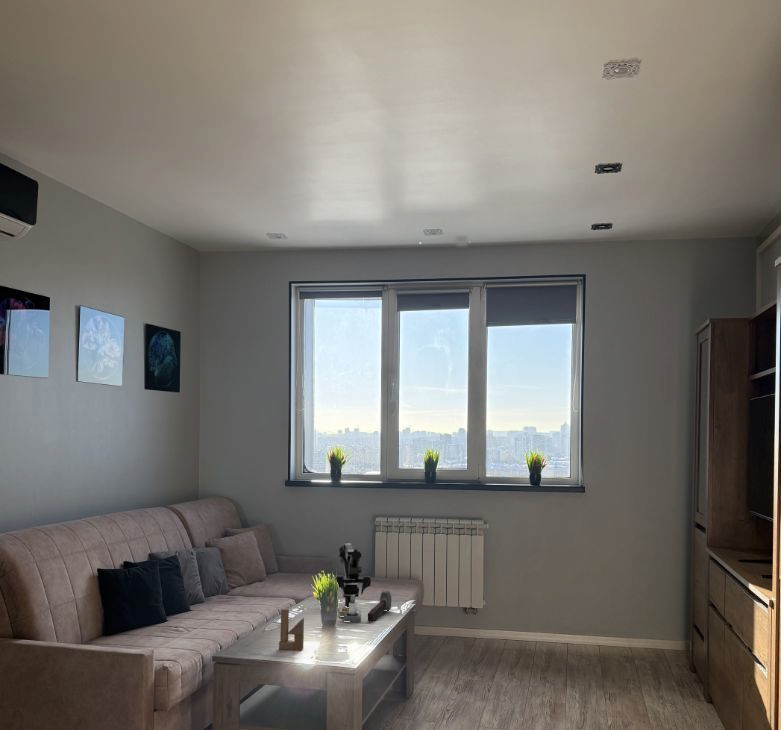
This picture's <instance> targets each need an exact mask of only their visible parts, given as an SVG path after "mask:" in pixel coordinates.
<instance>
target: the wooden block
mask: <svg viewBox="0 0 781 730" xmlns="http://www.w3.org/2000/svg"><path fill="white" fill-rule="evenodd" d="M289 619H290V610H289V608H285V607H284V608H281V609H280V638H279V641H278V650H284V651H294V652H298V651H299V652H301V651H303V650H304V641H305V639H304V636H305V618H304V617H303V618H302V619H300V620H299V621H298V622H297V624H295V625H294V627H292V628H291V629H290V630H289V623H290V622H289V621H290V620H289ZM289 635H294V638H293V640H290V639H289Z"/></svg>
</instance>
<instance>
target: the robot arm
mask: <svg viewBox="0 0 781 730" xmlns="http://www.w3.org/2000/svg"><path fill="white" fill-rule="evenodd" d="M337 552H338V553H337V554H338V555H337V557H338V558H339V562H340V563H342V565H343V572H344V575H337V576H336V579H335V581H336V580H337V582H338V584H339V586H338V588H340V589H341V594H342V595H341V596H342V598H344V605H345V606H347V607H349V603H350V602H351V595H355V598H359V596H360V595H359V594H361V596H363V594H364V591H365V590H366V589H367V588H369V587H371V581H372V580H371V579H372V577H371V576H368V575H367V576H363V578H360V577H359V576H360V574H362V566H360V564H361V559H362V553H361V551H359V549H356V548H355V549H354V547H353V544H352V543H343V545H342V546H340V547H339V548H338V551H337ZM358 584H362V586H361V590H360V587H359V585H358ZM360 591H361V592H360ZM359 592H360V593H359Z"/></svg>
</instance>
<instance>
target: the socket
mask: <svg viewBox="0 0 781 730" xmlns="http://www.w3.org/2000/svg"><path fill="white" fill-rule="evenodd" d="M344 621H350V622H349V623H362V612H356V616H349V613H344V618H343V622H344Z"/></svg>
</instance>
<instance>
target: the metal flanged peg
mask: <svg viewBox="0 0 781 730" xmlns="http://www.w3.org/2000/svg"><path fill="white" fill-rule="evenodd" d="M356 613H357V602H356V597H355V595H351V602H350V603H349V616H356Z"/></svg>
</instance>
